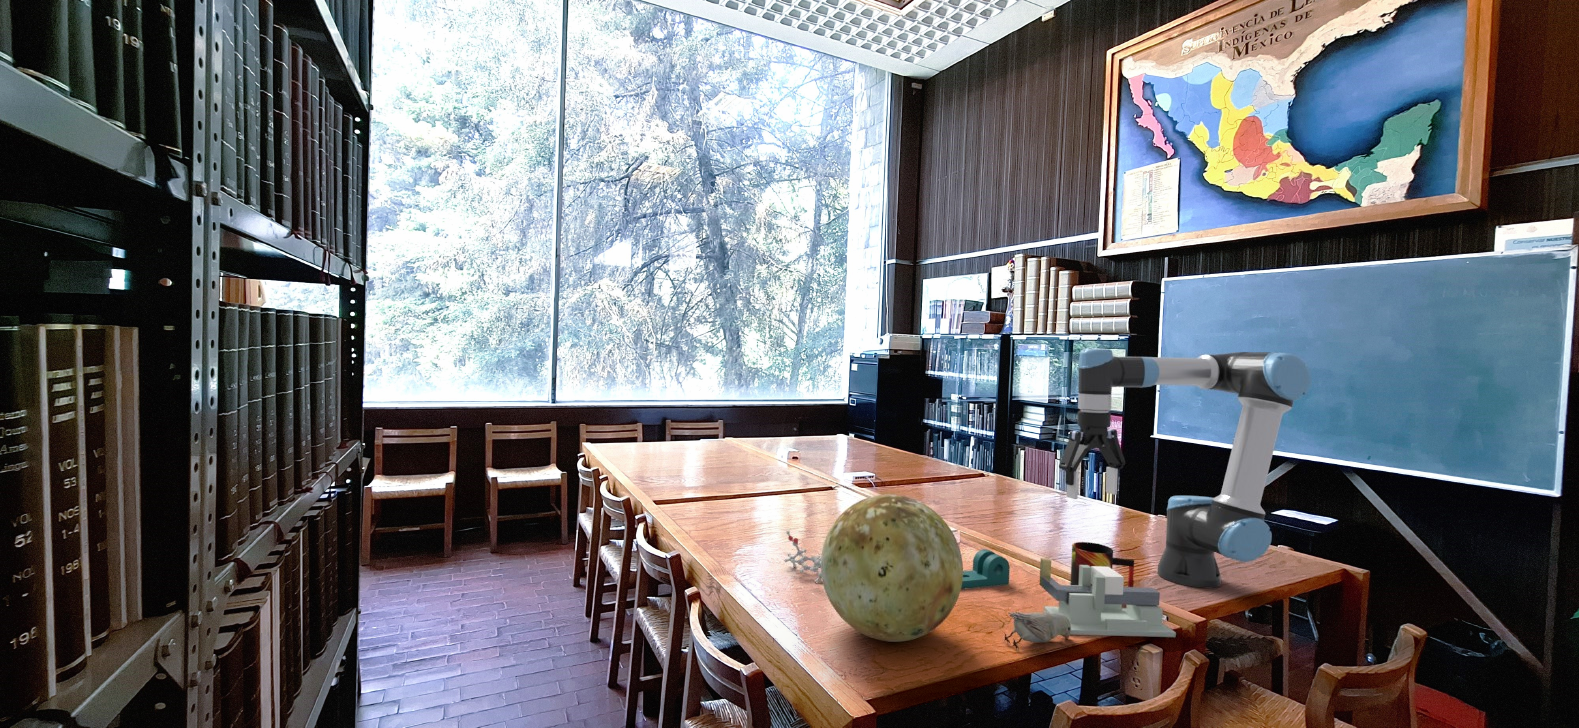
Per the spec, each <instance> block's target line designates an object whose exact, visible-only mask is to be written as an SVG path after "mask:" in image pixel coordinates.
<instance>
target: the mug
mask: <svg viewBox="0 0 1579 728" xmlns="http://www.w3.org/2000/svg"><path fill="white" fill-rule="evenodd" d="M1079 565H1088V566H1090V567H1091V566H1102V567H1110V568H1111V569H1112V570H1113V566H1123V567H1128V580H1127V581H1128V582H1127V587H1134V582H1135V580H1134V574H1135V573H1134V572H1135V560H1134V559H1131V558H1130V559H1129V558H1121V557H1114V549H1113V548H1111V547H1110V546H1108V545H1104V544H1101V543H1097V542H1096V543H1095V542H1088V541H1087V542H1086V541H1077V542H1074V543H1072V545H1071V564H1070V583H1069V585H1079ZM1091 586H1092V584H1091Z"/></svg>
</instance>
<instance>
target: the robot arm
mask: <svg viewBox="0 0 1579 728" xmlns="http://www.w3.org/2000/svg"><path fill="white" fill-rule="evenodd" d="M1113 353H1114V352H1113V351H1112V349H1109V348H1107V349H1106V348H1084V349H1081V350H1080V352H1079V357H1078V366H1077V367H1078V388H1077V389H1078V391H1077V392H1078V395H1077V396H1078V397H1077V398H1078V399H1077V401H1078V402H1077V409H1079V410H1078V411H1077V421H1076V422H1077V426H1079V431H1076V430H1070V431H1069V435H1068V437H1069V438H1068V441H1067V444H1066V446H1065V448H1064V452H1063V455H1062V457H1061V460H1060V463H1059V465H1058V468H1059V469H1061V470H1062V471H1065V484H1066V498H1069V499H1073V500H1078V498H1079V497H1078V495H1079V492H1078V491H1079V490H1078V489H1079V472H1078V471H1077V469H1078V468H1079V466H1080V464H1081V463H1082V461H1083V460H1084V458H1085V457H1086V455H1087V453H1088V452H1090V451H1091V450H1095V449H1098V450H1099V452H1100V453H1101V456H1102V457H1103V458H1104V459H1105V461H1106V463H1107V465H1108V466H1106V470H1105V475H1106V476H1105V493H1107V494H1111V495H1113V496H1115V495H1118V480H1119V470H1122V469H1123V468H1124V466H1125V465H1126V459H1125V457H1124V454H1123V451H1122V448H1121V445H1120V442H1119V439H1118V430H1117V429H1114V428H1110V427H1111V422H1112V420H1111V419H1112V413H1111V412H1110V411H1111V410H1112V394H1113V393H1112V391H1113V390H1112V389H1113V388H1140V389H1142V388H1148V387H1149V388H1150V387H1153V386H1155V385H1156V386H1196V387H1197V388H1199V389H1201V390H1213V391H1219V392H1226V393H1231V394H1235V395H1237V400H1238V402H1240V404H1241V406H1242V407H1241V408H1242V409H1241V412H1240V415H1239V420H1238V424H1237V426H1236V431H1235V435H1234V439H1233V443H1232V448H1231V451H1230V455H1229V459H1228V463H1227V468H1226V472H1225V475H1224V479H1223V485H1222V486H1221V487H1222V488H1221V492H1220V494H1219V495H1217V496H1215V497H1211V496H1210V497H1209V496H1199V495H1173V496H1170V498H1169V499H1168V501H1167V503H1168V504H1167V508H1166V534H1165V535H1166V536H1165V537H1166V538H1165V539H1166V541H1165V549H1164V550H1163V553H1162V555H1161V557H1160V559H1159V562H1158V563H1157V575H1158V576H1159V577H1161V578H1163V579H1165V580H1167V581H1169V582H1172V583H1174V584H1180V585H1184V586H1187V587H1188V586H1189V587H1193V588H1203V589H1208V588H1210V589H1211V588H1217V587H1220V586H1221V582H1222V577H1221V573H1220V568H1219V565H1218V563H1217V559H1216V556H1215V553H1216V554H1219V555H1221V556H1223V557H1225V558H1227V559H1231V560H1235V561H1238V562H1242V563H1249V562H1253V561H1256V560H1257V559H1258V558H1261V557H1262V556H1263V555H1265V554H1266V553H1267V551H1268V550H1269V548H1270V546H1271V543H1272V538H1273V537H1272V536H1273V535H1272V531H1271V530H1270V529H1271V528H1270V526H1269V525H1268V524H1267V522H1265V516H1266V512H1265V510H1264V509H1263V508H1262V506H1261V502H1262V497H1263V494H1264V490H1265V488H1266V487H1265V486H1266V482H1267V478H1268V474H1269V470H1270V466H1271V461H1272V459H1273V453H1274V450H1275V447H1276V446H1275V445H1276V442H1277V438H1278V435H1279V430H1280V426H1281V421H1282V418H1283V414H1285V413H1286V412H1288V411H1290V410H1292V409H1293V404H1294V401H1296V400H1299V399H1301V398H1303V396H1304V395H1307V393H1308V391H1309V389H1310V387H1311V381H1312V380H1311V373H1310V369H1309V367H1308V366H1306V363H1305V361H1304V360H1303V359H1302V358H1301V357H1299V356H1297V355H1295V354H1292V353H1287V352H1279V351H1272V352H1270V351H1268V352H1265V351H1263V352H1260V351H1257V352H1255V351H1254V352H1253V351H1252V352H1251V351H1238V352H1228V353H1222V354H1221V353H1219V354H1202V355H1199V356H1198V357H1196V358H1195V357H1159V356H1158V357H1155V356H1154V357H1153V356H1114V355H1113Z"/></svg>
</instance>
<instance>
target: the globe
mask: <svg viewBox="0 0 1579 728" xmlns="http://www.w3.org/2000/svg"><path fill="white" fill-rule="evenodd" d="M820 558H821V568H820V572H821V576H822V578H821V581H822V585H823V589H824V590H825V594H826V596H827V599H828V601H829V602H830V604H831V606H832V607H833V609H834V611H835V612H836V613H837V615H838V616H839V617H840V618H841V619H842V620H843V621H844V623H846V624H848V625H849V626H850V628H853V629H854V630H856V631H857V632H858V633H861V634H863V635H864V636H866V637H868V638H871V639H875V640H878V641H884V642H892V643H894V642H895V643H897V642H906V641H908V642H909V641H913V640H915V639H918V638H921V637H923V636H925V635H928V634H929V633H930V632H932V631H934V630H935V629H936V628H938V627H939V626H940V625H941V624H942V623H943V622H944V621H945V620H946V619H947V618H948V616H949V615H951V613H952V611H953V609H954V608H955V606H956V604H957V602H958V600H959V597H960V594H961V590H962V589H961V587H962V580H963V571H964V567H963V565H964V564H963V558H962V553H961V549H960V546H959V543H958V541H957V539H956V537H955V534H954V532H953V530H952V529H951V528H950V526H949V525H948V524H947V522H946V521H945V520H944V518H942V517H941V516H940V515H939V514H938V513H937V512H936V511H935V510H934V509H932V508H931V507H930V506H928V505H926V504H925V503H923V502H921V501H919V500H918V499H917V500H916V499H914V498H912V497H908V496H904V495H899V494H877V495H873V496H869V497H866V498H863V499H862V500H858V501H857V502H855V503H853V504H852V505H850V506H849V507H848V508H847V509H845V510H844V511H843V512H842V513H841V514H840V515H839V516H838V517H837V518H836V519H835V521H834V522H833V524H832V525H831V527H830V528H829V530H828V532H827V534H826V537H825V539H824V541H823V545H822V550H821V556H820Z"/></svg>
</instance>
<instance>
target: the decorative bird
mask: <svg viewBox="0 0 1579 728" xmlns="http://www.w3.org/2000/svg"><path fill="white" fill-rule="evenodd" d="M1008 614H1009V615H1008V617H1011V618H1012V620H1013V627H1014V629H1013V630H1012V631H1011V633H1010V634H1009V635H1008V636H1007V634H1006V633H1004V639H1003V641H1006V642H1007V643H1008V644H1011V642H1010V640H1009V638H1011V637H1012V636H1013V634H1015V633H1016V634H1017V635H1018V636H1019V640H1018V641H1016V640H1015V639H1014V638H1012V640H1013V642H1012V644H1013V645H1012V647H1015V649H1016V650H1020V647H1019V646H1018V645H1017V644H1019V643H1020V642H1021V641H1025V642H1029V643H1049V642H1050V641H1051V640H1054V639H1055V638H1057V637H1058V636H1061V637H1063V638H1064V639H1066V640H1068V639H1069V637H1070V636H1071V634H1070V632H1071V625H1070V621H1069V619H1068V618H1067V617H1066V616H1065V615H1064V614H1061V613H1050V614H1049V613H1046V612H1035V611H1034V612H1028V613H1026V612H1025V613H1024V612H1019V611H1018V612H1017V611H1015V612H1013V611H1012V612H1008Z"/></svg>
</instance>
